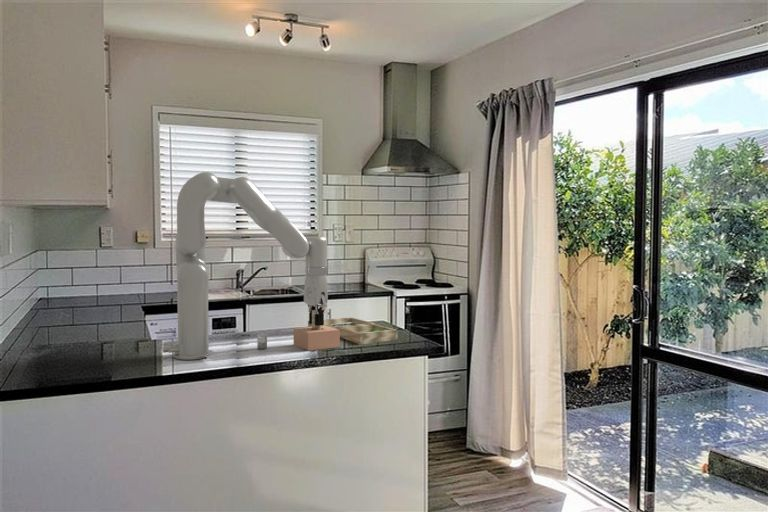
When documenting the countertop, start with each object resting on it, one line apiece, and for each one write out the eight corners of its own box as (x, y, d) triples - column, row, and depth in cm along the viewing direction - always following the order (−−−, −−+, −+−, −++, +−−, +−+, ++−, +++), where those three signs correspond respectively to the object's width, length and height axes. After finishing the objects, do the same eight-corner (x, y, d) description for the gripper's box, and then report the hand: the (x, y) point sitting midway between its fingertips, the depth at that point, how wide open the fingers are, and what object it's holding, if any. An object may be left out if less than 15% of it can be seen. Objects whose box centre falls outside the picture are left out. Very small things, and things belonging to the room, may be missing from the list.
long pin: (314, 345, 208) (314, 311, 207) (310, 344, 211) (310, 310, 210) (322, 344, 210) (322, 310, 209) (318, 343, 212) (318, 309, 212)
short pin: (259, 350, 202) (259, 335, 202) (256, 348, 205) (255, 334, 205) (268, 349, 204) (268, 334, 204) (264, 347, 207) (264, 333, 207)
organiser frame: (354, 345, 211) (354, 334, 211) (308, 330, 243) (307, 321, 243) (401, 340, 222) (401, 329, 222) (351, 326, 254) (351, 317, 254)
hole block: (308, 350, 202) (308, 332, 202) (293, 345, 212) (293, 328, 212) (339, 347, 208) (339, 329, 208) (324, 341, 218) (324, 325, 218)
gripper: (296, 271, 214) (296, 322, 215) (317, 273, 200) (317, 328, 201) (315, 270, 218) (315, 320, 219) (337, 273, 204) (337, 326, 205)
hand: (316, 324), depth 210 cm, fingers open, 3 cm apart
